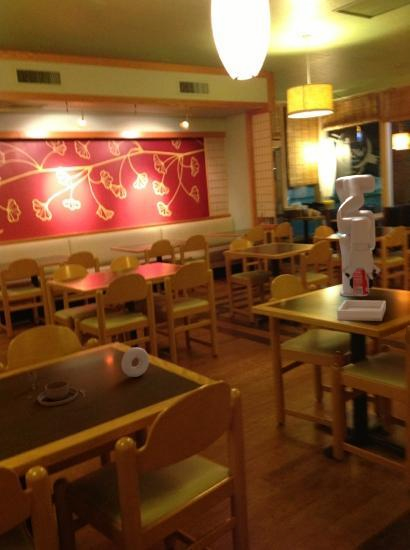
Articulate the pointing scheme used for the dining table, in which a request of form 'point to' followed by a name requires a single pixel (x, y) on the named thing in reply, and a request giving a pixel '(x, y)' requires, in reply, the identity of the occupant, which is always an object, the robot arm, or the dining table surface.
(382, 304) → the tray
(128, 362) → the donut
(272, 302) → the dining table surface
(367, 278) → the soda can
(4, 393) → the dining table surface
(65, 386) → the place setting
